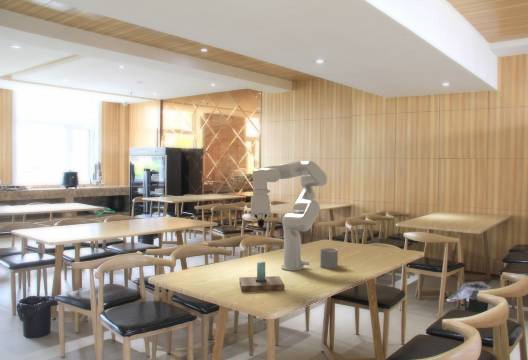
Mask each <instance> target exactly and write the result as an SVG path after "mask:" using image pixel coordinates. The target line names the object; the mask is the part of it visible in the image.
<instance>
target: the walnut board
mask: <svg viewBox="0 0 528 360" xmlns="http://www.w3.org/2000/svg"><path fill="white" fill-rule="evenodd" d="M239 286H240V291H241V293H259V292H260V293H261V292H262V293H263V292H284V291H285V283H284V281H283V280H282V279H281V276H279V275H277V276H265V282H258V281H257V276H242V277H241V276H240V277H239Z"/></svg>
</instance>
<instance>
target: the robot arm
mask: <svg viewBox="0 0 528 360" xmlns="http://www.w3.org/2000/svg"><path fill="white" fill-rule="evenodd" d="M296 177H300V184H301V192H300V195H299V196H298V197H297V199H296V201H295V202H294V205H292V206H293V207H292V211H293V212H290V213H286V214H284V215H283V217H282V220H281V222H282V223H281V224H282V228H283V265H281V269H282V270H284V271H291V272H292V271H293V272H294V271H302V270H304V266H310V261H306V260H305V261H303V260H302V240H301V234H300V232H307V231H309V230H310V229H311V227H312V226H313V225H314V222H315V221H316V219H317V217H318V215H319V214H320V208H321V207H320V204H319V202H318V201H317V200H315V197H316V195H315V189H314V188H313V187H324V186H325V185H327V184H328V183H327V182H328V176H327V175H326V172H324V170H323V169H322V168H321V167H320V166H319V165H318V164H317V163H316V162H315V161H313V160H297V161H292V162H288V163H283V164H282V163H281V164H277V165H272V166H271V165H270V166H264V167H261V168H258V169H257V168H256V169H253V170H252V195H251V197H250V216H251V217H253V218H256V219H257V226H258V227H259V228H264V226H265V224H264V223H265V219H266V218H267V217H269V216H271V215H272V213H271V202H270V195H269V193H271V190H270V189H268V183H277V182H278V181H280V180H287V179H288V180H289V179H292V178H296ZM260 215H261V217H260Z"/></svg>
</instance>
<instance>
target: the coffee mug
mask: <svg viewBox="0 0 528 360" xmlns="http://www.w3.org/2000/svg"><path fill="white" fill-rule="evenodd" d="M338 251H339V250H338V248H332V247H331V248H330V247H329V248H328V247H326V248H320V250H319V253H320V254H319V256H320V257H319V260H320V261H319V263H320V264H319V267H320V268H322V269H325V270H327V269H328V270H333V269H338V267H339V265H338V263H339V262H338V260H339V256H338V254H339V253H338Z"/></svg>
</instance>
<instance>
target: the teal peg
mask: <svg viewBox="0 0 528 360" xmlns="http://www.w3.org/2000/svg"><path fill="white" fill-rule="evenodd" d="M256 277H257V281H258V282H265V277H266V261H257V262H256Z"/></svg>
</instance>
